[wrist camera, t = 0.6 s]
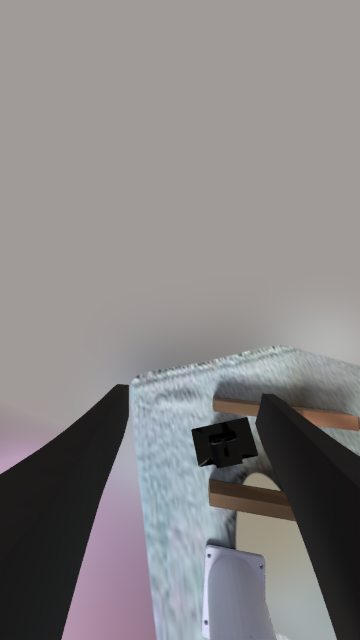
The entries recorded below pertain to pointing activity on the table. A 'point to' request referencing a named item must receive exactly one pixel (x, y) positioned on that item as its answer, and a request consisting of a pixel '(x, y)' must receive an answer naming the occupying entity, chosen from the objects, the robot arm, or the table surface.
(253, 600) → the robot arm
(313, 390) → the table surface
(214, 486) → the walled channel
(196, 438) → the black piece
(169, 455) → the table surface
